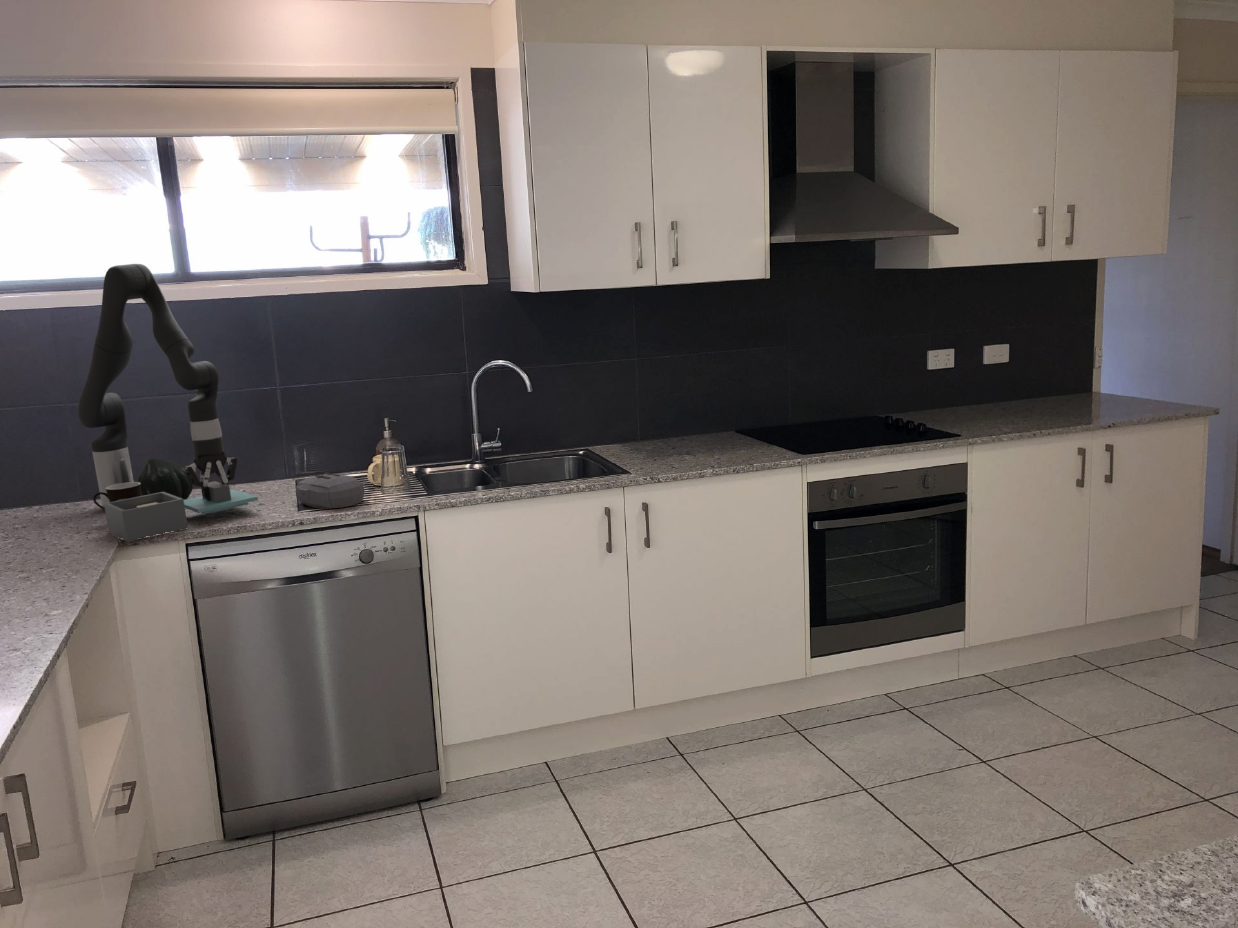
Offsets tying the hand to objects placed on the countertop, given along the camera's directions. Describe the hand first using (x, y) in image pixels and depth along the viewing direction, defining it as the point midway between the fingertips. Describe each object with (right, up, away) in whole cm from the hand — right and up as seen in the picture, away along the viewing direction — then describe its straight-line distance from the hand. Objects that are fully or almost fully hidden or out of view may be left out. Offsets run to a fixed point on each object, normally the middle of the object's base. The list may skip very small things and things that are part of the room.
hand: (216, 498), depth 270 cm
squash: (-22, -3, +19) cm, 29 cm away
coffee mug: (-26, -7, +2) cm, 27 cm away
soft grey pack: (+30, -2, +7) cm, 31 cm away
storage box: (-13, -8, -11) cm, 19 cm away
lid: (0, -1, 0) cm, 1 cm away
